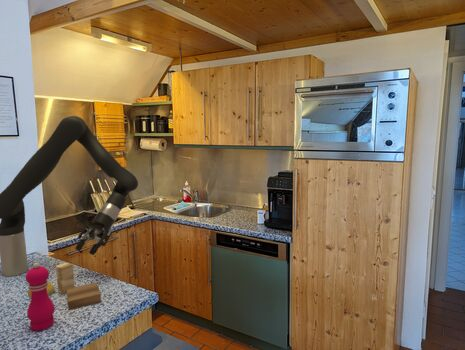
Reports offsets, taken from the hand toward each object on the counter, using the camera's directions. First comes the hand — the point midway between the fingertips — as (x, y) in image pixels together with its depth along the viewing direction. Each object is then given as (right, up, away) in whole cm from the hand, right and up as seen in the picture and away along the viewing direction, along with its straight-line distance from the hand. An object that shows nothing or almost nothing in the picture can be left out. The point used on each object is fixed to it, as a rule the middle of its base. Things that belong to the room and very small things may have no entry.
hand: (84, 252), depth 128 cm
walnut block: (+5, -14, -12) cm, 19 cm away
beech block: (-4, -13, -5) cm, 15 cm away
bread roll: (-13, -14, -7) cm, 20 cm away
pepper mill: (-1, -16, -26) cm, 31 cm away
